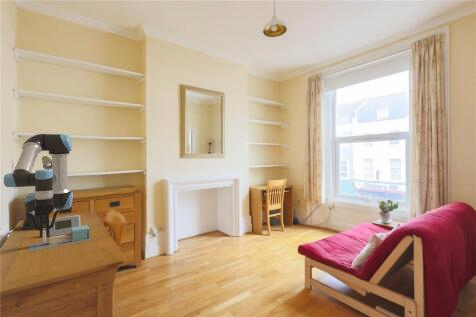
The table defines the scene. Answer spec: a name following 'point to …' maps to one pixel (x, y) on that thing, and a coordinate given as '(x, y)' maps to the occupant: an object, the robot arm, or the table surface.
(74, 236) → the end cap
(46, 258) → the table surface
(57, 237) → the slat
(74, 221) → the digital clock
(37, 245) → the mat
